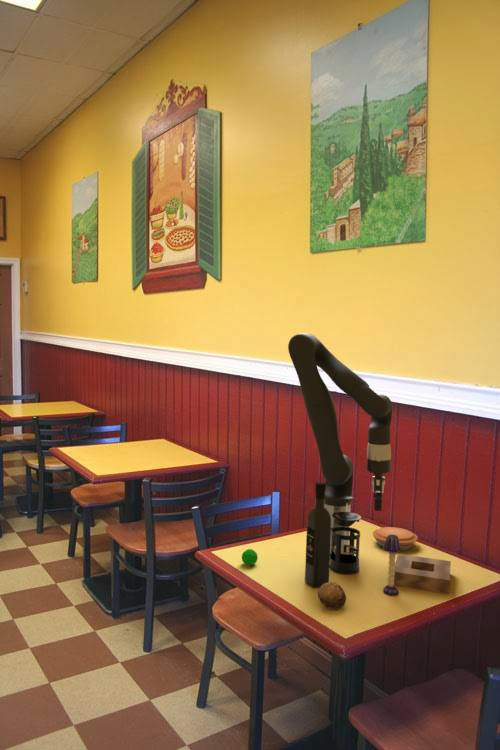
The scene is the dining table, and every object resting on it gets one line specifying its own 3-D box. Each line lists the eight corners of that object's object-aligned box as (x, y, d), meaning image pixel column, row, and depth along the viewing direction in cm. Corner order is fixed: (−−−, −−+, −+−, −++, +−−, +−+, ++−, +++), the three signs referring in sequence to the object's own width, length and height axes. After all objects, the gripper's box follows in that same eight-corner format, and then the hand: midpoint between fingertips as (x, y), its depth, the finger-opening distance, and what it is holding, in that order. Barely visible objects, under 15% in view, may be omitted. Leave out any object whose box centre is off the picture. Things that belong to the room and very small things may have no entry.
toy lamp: (398, 597, 173) (401, 539, 171) (381, 595, 173) (384, 537, 172) (398, 590, 177) (400, 533, 176) (381, 588, 178) (384, 532, 177)
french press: (366, 568, 193) (369, 496, 191) (352, 577, 185) (355, 502, 184) (333, 559, 200) (336, 490, 198) (318, 567, 193) (321, 495, 191)
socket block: (392, 584, 181) (392, 571, 181) (397, 565, 196) (398, 553, 196) (449, 593, 176) (449, 580, 176) (450, 573, 191) (450, 561, 191)
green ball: (239, 562, 195) (240, 547, 195) (254, 561, 196) (254, 546, 196) (244, 568, 190) (244, 553, 190) (259, 566, 192) (259, 552, 191)
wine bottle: (313, 588, 176) (318, 486, 174) (303, 581, 181) (307, 481, 179) (330, 585, 179) (334, 484, 177) (319, 578, 184) (323, 480, 182)
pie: (364, 546, 214) (365, 532, 214) (382, 534, 227) (382, 521, 226) (407, 556, 205) (408, 542, 205) (423, 544, 218) (423, 530, 218)
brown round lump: (313, 586, 170) (323, 573, 167) (338, 596, 171) (349, 583, 168) (311, 610, 164) (322, 597, 160) (338, 621, 165) (349, 608, 161)
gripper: (368, 452, 205) (367, 500, 206) (365, 461, 191) (365, 512, 192) (391, 453, 203) (390, 501, 204) (390, 462, 189) (390, 513, 190)
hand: (378, 506), depth 198 cm, fingers open, 8 cm apart
